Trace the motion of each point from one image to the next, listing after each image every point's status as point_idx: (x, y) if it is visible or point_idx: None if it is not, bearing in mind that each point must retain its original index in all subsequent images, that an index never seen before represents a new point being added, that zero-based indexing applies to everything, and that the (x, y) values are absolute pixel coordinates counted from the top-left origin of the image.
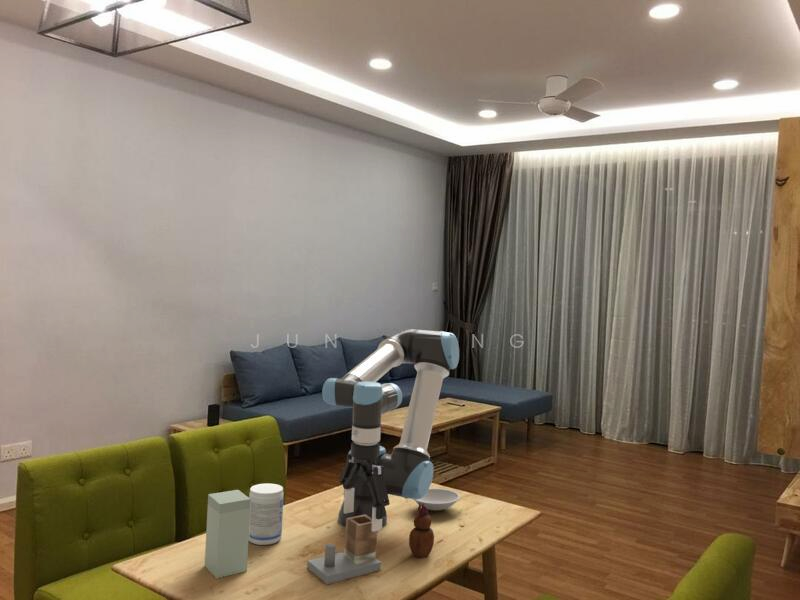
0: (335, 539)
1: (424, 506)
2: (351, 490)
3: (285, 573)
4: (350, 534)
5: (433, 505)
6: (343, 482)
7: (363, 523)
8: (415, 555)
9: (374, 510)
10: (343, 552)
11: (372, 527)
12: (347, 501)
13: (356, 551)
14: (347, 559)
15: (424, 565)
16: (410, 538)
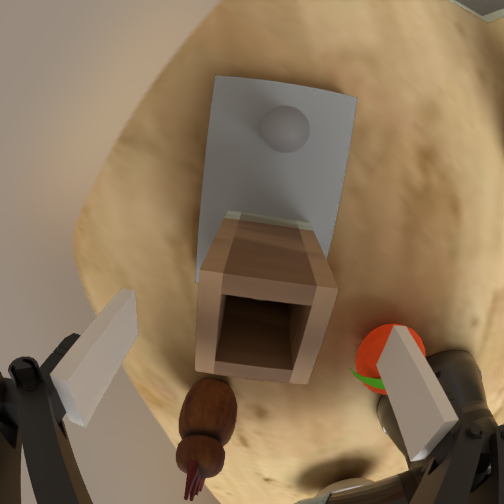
0: (428, 296)
1: (195, 494)
2: (418, 442)
3: (359, 33)
4: (279, 250)
5: (329, 490)
6: (489, 445)
7: (213, 312)
8: (207, 379)
9: (65, 360)
10: (328, 236)
11: (120, 299)
12: (411, 377)
13: (224, 223)
14: (277, 210)
15: (164, 362)
16: (215, 406)
